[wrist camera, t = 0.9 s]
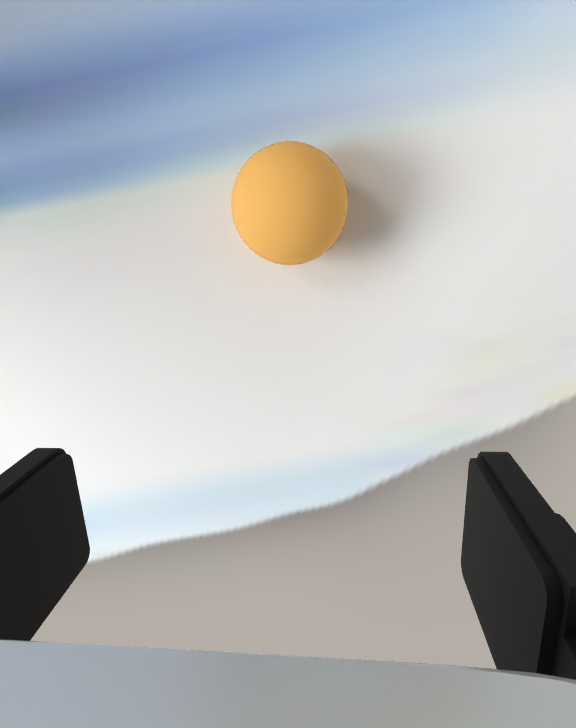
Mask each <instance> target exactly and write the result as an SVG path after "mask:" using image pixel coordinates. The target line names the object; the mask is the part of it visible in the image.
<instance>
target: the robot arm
mask: <svg viewBox="0 0 576 728" xmlns="http://www.w3.org/2000/svg"><path fill="white" fill-rule="evenodd" d="M89 553H90V547H89V541H88V536H87V531H86V526H85V521H84V516H83V511H82V506H81V501H80V496H79V490H78V485H77V480H76V475H75V470H74V465H73V460H72V458H71V456H70V455H68V454H66V452H65V451H64V450H63V449H61V448H36V449H34V450H33V451H31V452H30V453H29V454H27V455H26V456H25V457H23V458H22V459H21V460H19V461H18V462H17V463H15V464H14V465H13V466H11V467H10V468H9V469H7V470H6V471H5V472H3V473H2V474H1V475H0V728H576V533H575V532H574V530H573V529H572V528H571V526H570V525H569V524H568V523H567V522H566V520H565V519H564V518H563V517H562V516H561V515H560V514H557V513H554V511H553V510H552V509H551V507H550V506H549V505H548V503H547V502H546V501H545V500H544V498H543V497H542V496H541V494H540V493H539V492H538V491H537V489H536V488H535V487H534V485H533V484H532V483H531V481H530V480H529V479H528V477H527V476H526V475H525V474H524V472H523V471H522V469H521V468H520V467H519V465H518V464H517V463H516V462H515V460H514V459H513V458H512V456H511V455H510V454H509V453H508V452H480V453H479V454H478V457H477V458H471V459H470V461H469V469H468V482H467V493H466V505H465V517H464V530H463V542H462V554H461V567H462V574H463V578H464V580H465V583H466V586H467V589H468V591H469V594H470V597H471V600H472V602H473V605H474V608H475V611H476V613H477V616H478V619H479V621H480V624H481V627H482V630H483V632H484V635H485V638H486V641H487V643H488V646H489V649H490V652H491V654H492V657H493V660H494V662H495V665H496V668H497V669H488V668H478V667H466V666H456V665H443V664H426V663H410V662H394V661H376V660H361V659H344V658H328V657H326V658H325V657H311V656H294V655H277V654H257V653H239V652H222V651H203V650H185V649H166V648H148V647H130V646H112V645H93V644H76V643H58V642H40V641H39V642H37V641H30V640H31V638H32V637H33V636H34V634H35V633H36V632H37V630H38V629H39V627H40V626H41V625H42V623H43V622H44V621H45V619H46V618H47V617H48V615H49V614H50V612H51V611H52V610H53V608H54V607H55V605H56V604H57V603H58V601H59V600H60V599H61V597H62V596H63V595H64V593H65V592H66V590H67V589H68V588H69V586H70V585H71V584H72V582H73V581H74V580H75V578H76V577H77V575H78V574H79V573H80V571H81V570H82V569H83V567H84V566H85V564H86V563H87V561H88V558H89Z"/></svg>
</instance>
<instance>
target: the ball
mask: <svg viewBox="0 0 576 728" xmlns="http://www.w3.org/2000/svg"><path fill="white" fill-rule="evenodd" d="M347 212H348V194H347V188H346V185H345V182H344V179H343V177H342V175H341V172H340V171H339V169H338V168H337V166H336V165H335V163H334V162H333V161H332V160H331V159H330V158H329V157H328V156H327V155H326V154H325V153H323V152H322V151H320V150H319V149H317V148H315V147H313V146H311V145H308V144H305V143H301V142H293V141H286V142H279V143H275V144H272V145H269V146H267V147H265V148H263V149H261V150H260V151H258V152H257V153H255V154H254V155H253V156H252V157H251V158H250V159H249V160H248V161H247V162H246V163H245V165H244V166H243V167H242V169H241V171H240V172H239V174H238V176H237V179H236V181H235V184H234V188H233V193H232V214H233V218H234V223H235V225H236V228H237V230H238V232H239V234H240V236H241V238H242V239H243V240H244V242H245V243H246V244H247V245H248V247H249V248H250V249H251V250H253V251H254V252H255V253H256V254H258V255H259V256H261V257H262V258H264V259H266V260H268V261H271V262H274V263H278V264H283V265H295V264H301V263H305V262H308V261H311V260H313V259H315V258H317V257H319V256H320V255H322V254H323V253H325V252H326V251H327V250H328V249H329V248H330V247H331V246H332V245H333V244H334V243H335V241H336V240H337V238H338V237H339V235H340V234H341V232H342V229H343V227H344V224H345V221H346V217H347Z"/></svg>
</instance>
